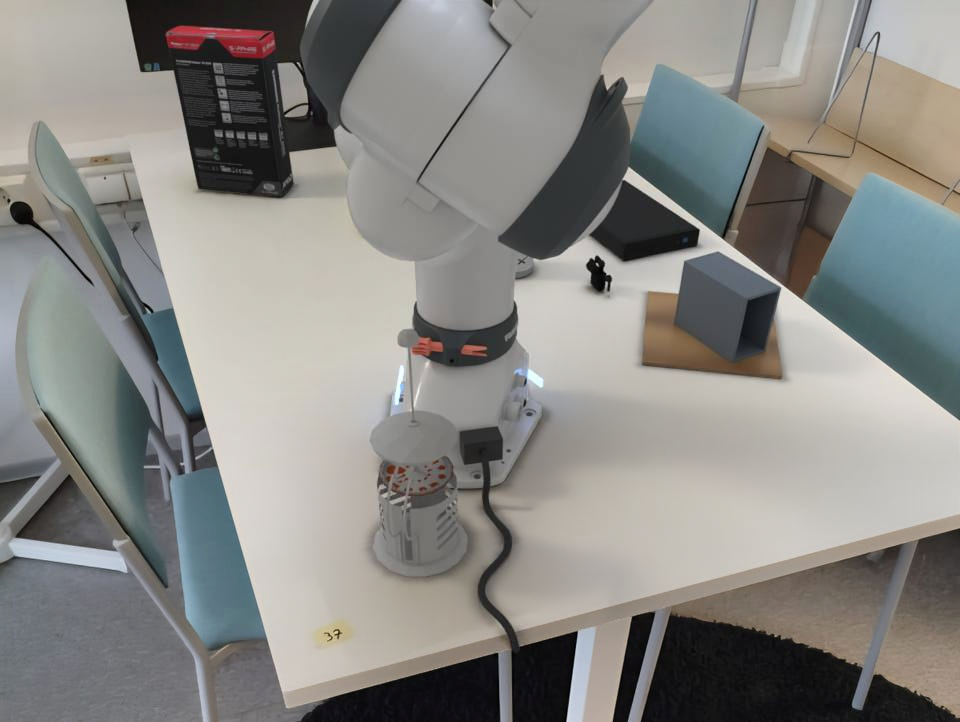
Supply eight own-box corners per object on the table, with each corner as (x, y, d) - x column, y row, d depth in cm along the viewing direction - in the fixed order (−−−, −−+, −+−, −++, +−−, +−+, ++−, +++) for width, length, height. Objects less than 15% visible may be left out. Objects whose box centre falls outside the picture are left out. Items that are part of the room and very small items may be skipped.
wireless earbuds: (612, 298, 129) (616, 267, 125) (597, 301, 128) (600, 269, 125) (591, 277, 134) (594, 247, 130) (577, 280, 133) (579, 249, 130)
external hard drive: (623, 195, 159) (625, 179, 157) (697, 246, 142) (700, 228, 140) (555, 208, 154) (556, 192, 152) (623, 261, 138) (625, 244, 136)
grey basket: (765, 351, 116) (781, 287, 110) (731, 363, 114) (746, 298, 108) (706, 313, 124) (718, 251, 118) (673, 323, 122) (684, 260, 116)
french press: (477, 517, 92) (477, 308, 76) (450, 598, 83) (443, 381, 67) (389, 503, 93) (370, 296, 77) (353, 581, 85) (324, 365, 69)
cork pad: (781, 379, 112) (782, 375, 112) (642, 364, 115) (642, 361, 114) (770, 304, 127) (771, 301, 127) (647, 293, 130) (648, 290, 129)
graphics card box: (297, 185, 162) (275, 26, 145) (284, 199, 157) (260, 36, 140) (211, 179, 165) (180, 22, 147) (196, 193, 159) (161, 32, 142)
